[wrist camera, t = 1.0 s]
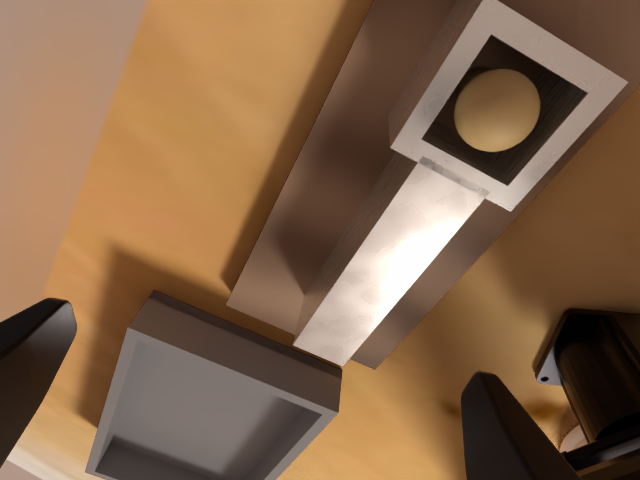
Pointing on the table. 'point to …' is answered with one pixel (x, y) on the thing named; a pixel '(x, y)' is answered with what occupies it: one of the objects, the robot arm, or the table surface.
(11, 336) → the robot arm
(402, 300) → the stud board
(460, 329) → the table surface
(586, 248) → the table surface
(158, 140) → the table surface
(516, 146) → the square nut with handle
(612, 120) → the table surface
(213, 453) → the tray
